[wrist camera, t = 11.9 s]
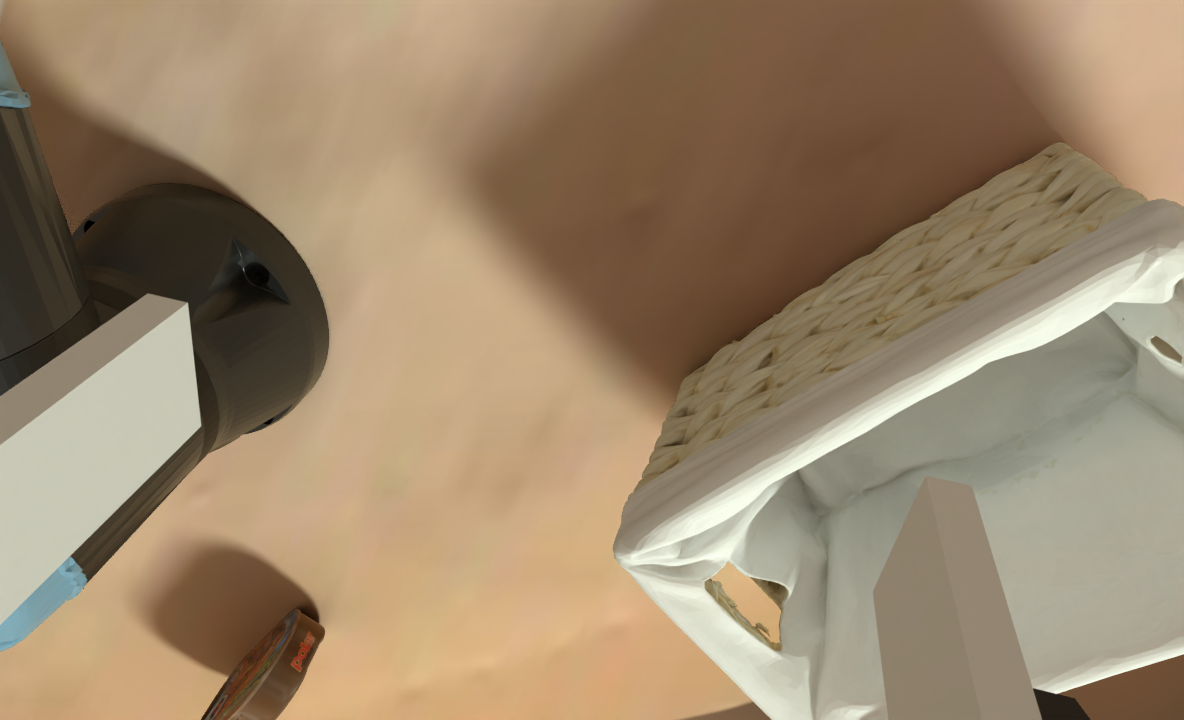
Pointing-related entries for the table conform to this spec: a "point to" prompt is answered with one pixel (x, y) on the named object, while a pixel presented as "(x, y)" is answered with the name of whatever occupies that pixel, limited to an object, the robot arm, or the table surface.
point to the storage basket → (940, 443)
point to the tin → (269, 672)
